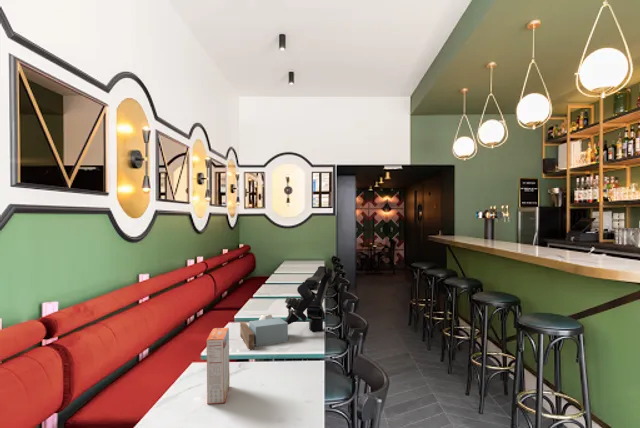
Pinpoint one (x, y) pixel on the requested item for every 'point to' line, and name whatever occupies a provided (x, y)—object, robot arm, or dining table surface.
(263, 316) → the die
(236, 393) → the dining table surface
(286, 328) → the slate block
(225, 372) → the cracker box
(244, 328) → the walnut board
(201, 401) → the dining table surface
